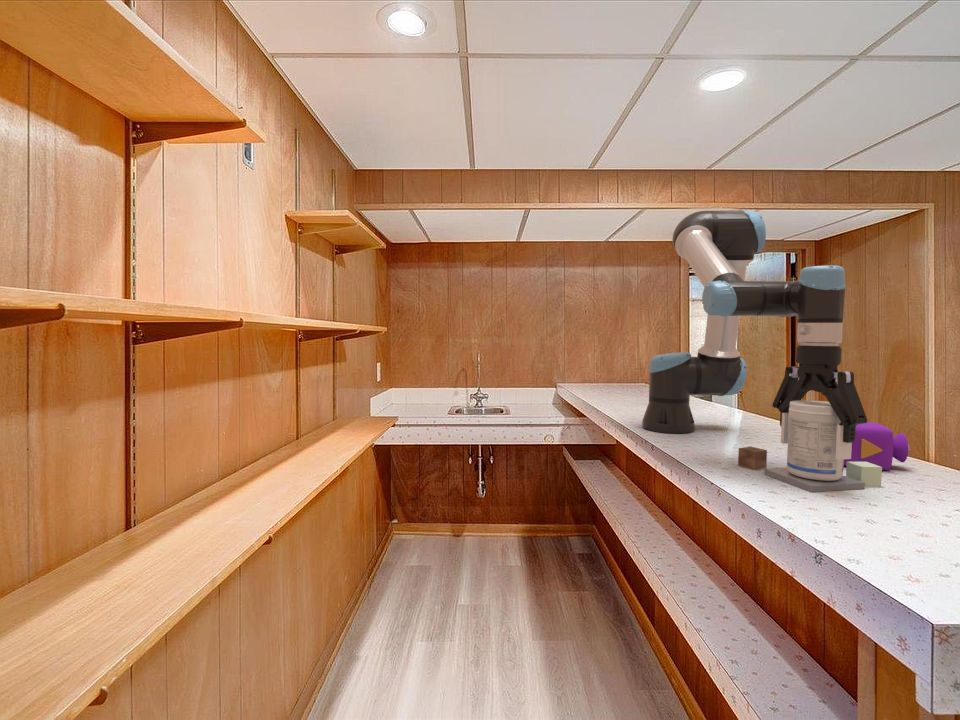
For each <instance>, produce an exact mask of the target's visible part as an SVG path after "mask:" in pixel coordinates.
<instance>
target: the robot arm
mask: <svg viewBox="0 0 960 720" xmlns="http://www.w3.org/2000/svg"><path fill="white" fill-rule="evenodd" d="M766 229H767V228H766V224H765V220H764V219H763V217H762V215H761V214H760V213H759V212H757V211H756V210H745V209H738V210H737V209H736V210H734V209H733V210H731V209H730V210H725V209H724V210H699V211H695V212H693V213H691V214H688V215H687V216H685V217H684V218H683V219H682V220H681V221H679V222H678V224H677V225H676V227H675V229H674V231H673V233H672V245H673V249H674V250H675V252H676V253H677V255H678V256H679V257H680V258H682V259H684V260H686V262H687V263H688V265H689V266H690V268H691V269H692V271H693V272H694V274H695V276H696V277H697V279H698V280H699V281H700V283H701V285H702V286H703V291H702V294H701V296H702V297H701V301H702V305H703V311H704V312H705V313H706V314H707V317H706V326H705V336H704V344H703V346H701V347H700V348H698V350H697V356H692V353H691V352H684V351H683V352H682V351H681V352H667V353H661V354H655V355H653V356H652V357H651V358H650V361H649V370H648V372H649V379H648V381H649V382H648V384H649V385H648V404H647V406H646V410H645V412H644V413H643V414H644V415H643V418H642V420H641V421H642V422H641V426H642V427H641V428H643V429H645V430H648V431H651V432H652V431H653V432H659V433H664V434H665V433H666V434H667V433H668V434H687V433H688V434H689V433H693V432H695V428H696V427H695V426H696V425H695V420H694V416H693V413H692V410H691V407H690V398H691V397H690V396H718V397H724V396H734V395H737V394H738V393H739V392H740V391H741V390H742V389H743V387H744V385H745V382H746V380H747V374H748V372H747V369H746V368H747V363H746V361H745V360H744V358H742V357H741V352H740V351H739V350H738V348H737V340H738V333H739V325H740V319H741V317H743V316H746V317H749V316H753V317H754V316H756V317H761V316H762V317H770V316H771V317H781V318H782V317H783V318H785V317H786V318H791V317H797V327H796V328H797V330H796V342H797V343H800V345H797V347H795V350H796V351H795V363H797V364H799V365H798V366H785V370H784V377H783V379H782V382H781V384H780V386H779V388H778V390H777V392H776V395H775V398H774V399H773V402H772V404H771V405H772V407H773V408H775V409H777V410H778V411H779V413H780V414H779V425H780V426H779V427H780V428H781V429H780V432H781V434H780V444H787V445H788V416H789V407H790V402H791V401H797V400H803V398H804V397H805V396H806V395H807V393H808V392H810V391H812V392H813V391H814V392H815V393H816V392H817V393H821V395H823V396H824V397H825V398H826V399H827V402H829V403H830V405H831V406H832V408H833V410H834V411H835V413H836V415H837V416H838V418H839V420H840V421H841V423H840V424H839V425H837V437H836V457H835V459H839V460H841V459H851V450H852V443H854V441H855V430H856V425H858V424H863V423H867V422H868V418H867V415H866V412H865V409H864V406H863V404H862V401H861V398H860V396H859V393H858V391H857V387H856V385H855V374H854V372H853V371H839V369H838V368H839V365H841V364H842V350H843V348H842V347H841V346H840V345H839V344H841V343H843V328H844V327H843V325H844V323H843V322H844V312H845V311H844V310H845V297H846V288H847V285H846V277H845V276H846V274H845V273H846V271H845V268H844V267H843V266H840V265H833V264H832V265H831V264H830V265H814V266H812V265H811V266H806V267H803V268H802V269H801V271H800V272H799V278H798V280H793V281H792V280H791V281H790V280H787V281H782V280H779V281H778V280H775V281H774V280H772V281H771V280H769V281H768V280H766V281H765V280H763V281H761V280H760V281H759V280H756V281H755V280H751V281H750V280H749V281H748V280H745V279H746V273H747V266H748V265H750V264H751V263H752V262H753V261H754V258H755V254H758V253H761V252H762V250H763V248H764V246H765V244H766V237H767V230H766Z"/></svg>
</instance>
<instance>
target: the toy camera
mask: <svg viewBox="0 0 960 720" xmlns="http://www.w3.org/2000/svg"><path fill="white" fill-rule="evenodd" d="M908 440H909V439H908V438H907V436H906V434H905V433H903V432H901V433H898V434H896V435H895V434H894V433H893V430H892V429H891V428H889V427H887V426H885V425H883V424H880V423H877V422H870V421H869V422H868V421H867V423H863V424H858V425H856V430H855V441H854V443H852V450H851V459H844V463H843V467H847V462H869V463H872V464H875V465H878V466H881V467H882V471H888V470H890V469H891V468H892V466H893V459H895V460H897V461H898V462H900V463H905V461H907V459H908V456H909V452H910V445H909V441H908Z"/></svg>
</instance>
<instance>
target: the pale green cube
mask: <svg viewBox="0 0 960 720" xmlns="http://www.w3.org/2000/svg"><path fill="white" fill-rule="evenodd" d="M882 474H883V470H882V467H881V466H878V465H875V464H872V463H869V462H847V466H846V470H845V476H846V477H849V478H852V479H855V480H858V481H861V482H864V483H865V487H870V488H871V487H872V488H873V487H874V488H875V487H876V488H881V487H882Z"/></svg>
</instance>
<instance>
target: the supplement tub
mask: <svg viewBox="0 0 960 720" xmlns="http://www.w3.org/2000/svg"><path fill="white" fill-rule="evenodd" d="M840 423H841V421H840V420H839V418H838V416H837V415H836V413H835V411H834V410H833V408H832V406H831V405H830V403H829V401H825V400H823V401H822V400H811V399H809V400H807V399H806V400H803V399H801V400H797V401H791V402H790V407H789V416H788V443H787V452H786V455H787V457H786V467H787V470H788V471H789V472H790V473H791V474H793V475H795V476H798V477H802V478H806V479H812V480H821V481H834V480H838V479H840V478H841V477H842V476H844V465H843V463H844V459H841V460H839V459H835V457H836V437H837V425H839V424H840Z"/></svg>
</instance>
